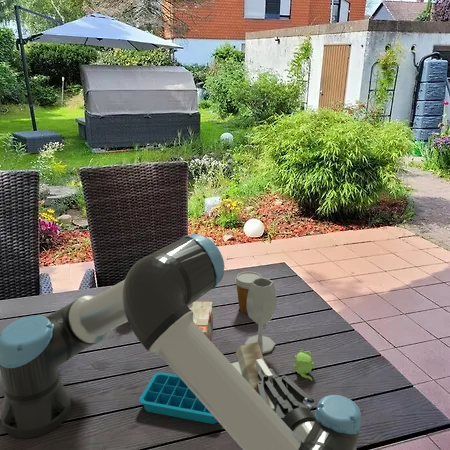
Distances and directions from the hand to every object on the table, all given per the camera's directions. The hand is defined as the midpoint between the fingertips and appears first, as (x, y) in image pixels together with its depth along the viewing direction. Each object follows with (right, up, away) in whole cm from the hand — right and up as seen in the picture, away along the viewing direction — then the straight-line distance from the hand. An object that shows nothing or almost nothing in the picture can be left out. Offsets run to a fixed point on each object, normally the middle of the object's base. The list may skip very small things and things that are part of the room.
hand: (258, 363), depth 111 cm
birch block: (0, -7, 0) cm, 6 cm away
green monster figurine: (+13, -6, +10) cm, 18 cm away
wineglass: (+2, -2, +22) cm, 22 cm away
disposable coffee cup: (0, +6, +42) cm, 42 cm away
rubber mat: (-1, -7, +5) cm, 9 cm away
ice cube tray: (-18, -10, -1) cm, 20 cm away
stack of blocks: (-16, -2, +21) cm, 27 cm away
